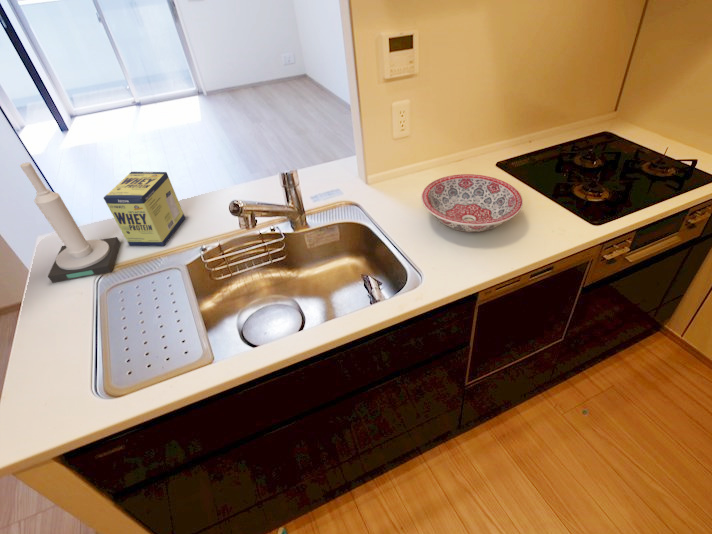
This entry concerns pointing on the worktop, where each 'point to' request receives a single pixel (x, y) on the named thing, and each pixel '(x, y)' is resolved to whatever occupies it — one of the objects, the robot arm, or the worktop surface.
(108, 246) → the scale
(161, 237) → the protein box
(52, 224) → the bottle
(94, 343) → the worktop surface
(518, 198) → the ceramic bowl
